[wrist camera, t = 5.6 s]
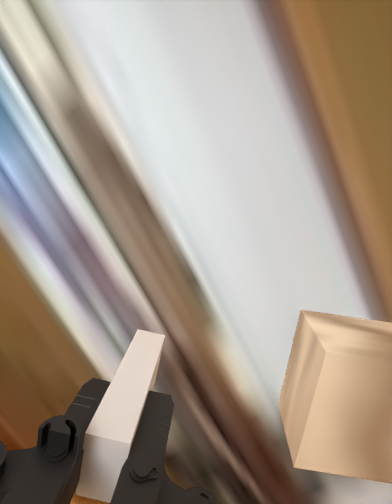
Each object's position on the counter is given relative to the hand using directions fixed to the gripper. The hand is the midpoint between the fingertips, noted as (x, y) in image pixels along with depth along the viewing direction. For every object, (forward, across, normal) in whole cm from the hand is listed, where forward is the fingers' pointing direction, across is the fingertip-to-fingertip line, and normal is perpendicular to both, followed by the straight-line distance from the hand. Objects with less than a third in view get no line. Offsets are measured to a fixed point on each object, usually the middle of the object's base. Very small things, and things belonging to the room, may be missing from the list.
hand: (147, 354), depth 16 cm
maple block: (+3, +12, 0) cm, 12 cm away
